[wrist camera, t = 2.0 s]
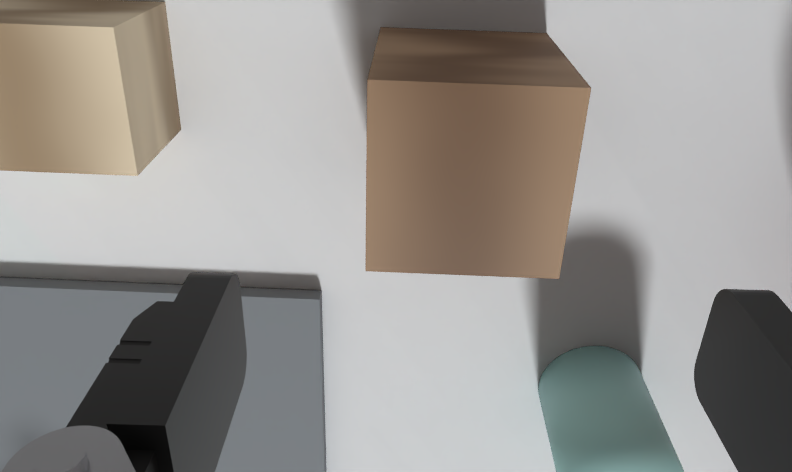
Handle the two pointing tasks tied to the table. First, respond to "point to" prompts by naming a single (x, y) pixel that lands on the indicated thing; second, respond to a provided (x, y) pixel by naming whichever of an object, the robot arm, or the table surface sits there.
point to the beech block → (85, 86)
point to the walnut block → (471, 152)
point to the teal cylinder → (603, 415)
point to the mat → (101, 332)
